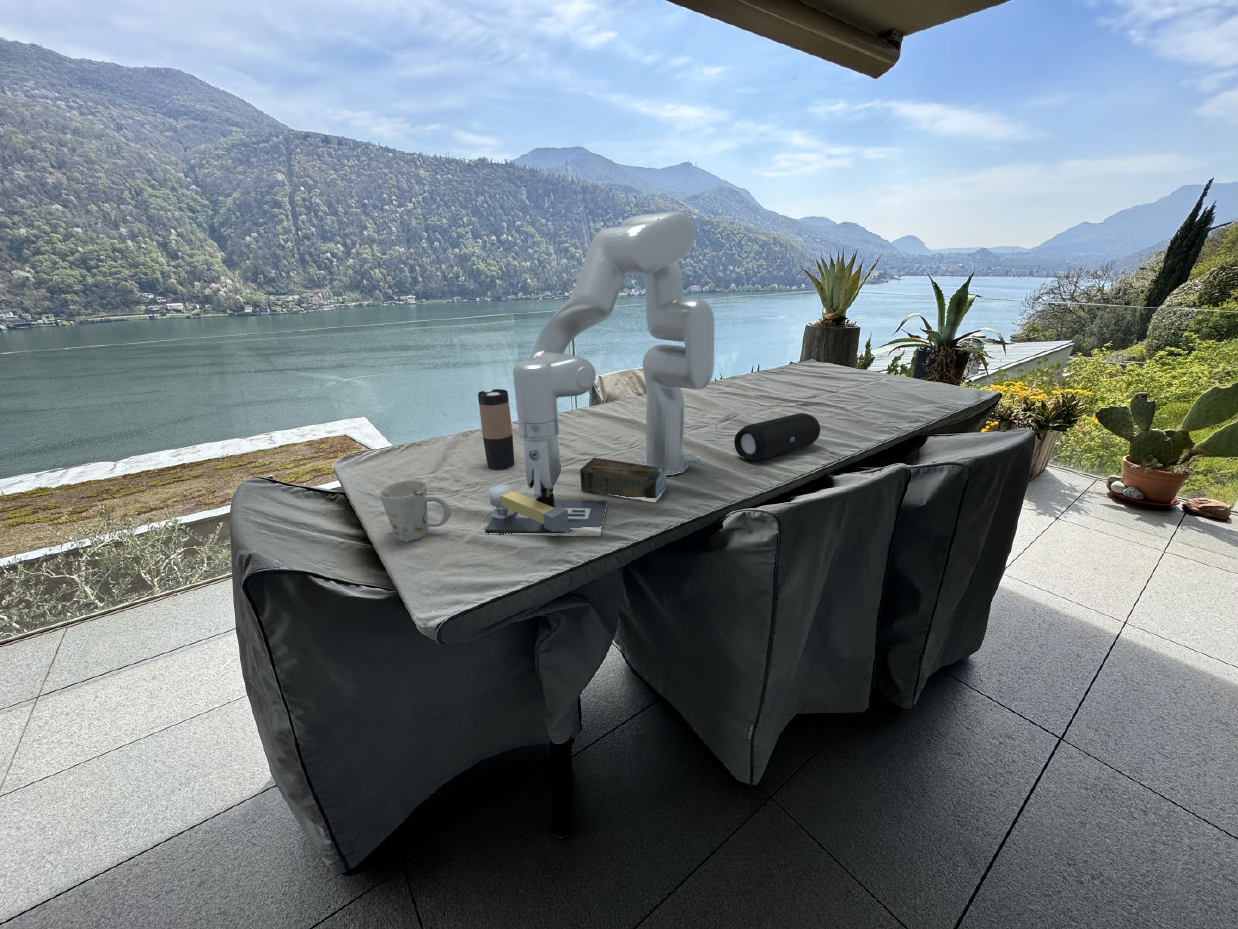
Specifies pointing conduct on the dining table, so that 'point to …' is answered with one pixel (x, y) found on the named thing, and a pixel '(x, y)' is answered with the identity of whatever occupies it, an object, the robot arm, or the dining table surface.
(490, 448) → the travel mug
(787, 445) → the portable speaker
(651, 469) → the beverage carton
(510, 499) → the swing arm
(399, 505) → the mug
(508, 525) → the chassis
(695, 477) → the dining table surface
